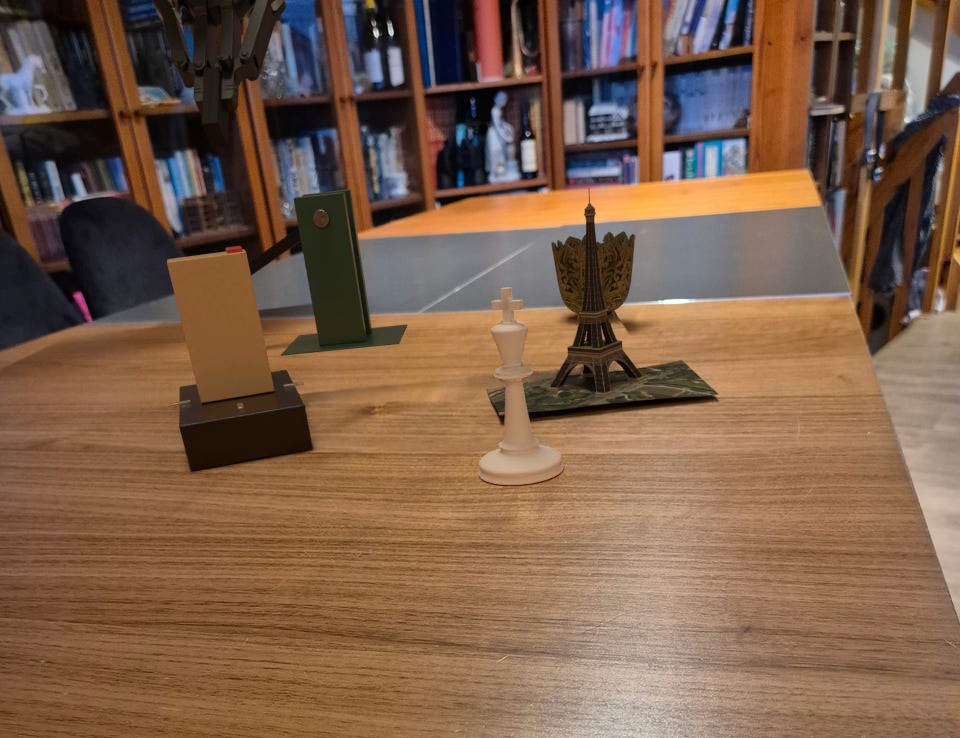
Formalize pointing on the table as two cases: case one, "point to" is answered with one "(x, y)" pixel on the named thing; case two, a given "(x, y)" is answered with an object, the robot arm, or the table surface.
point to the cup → (612, 268)
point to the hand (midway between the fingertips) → (214, 135)
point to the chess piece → (516, 410)
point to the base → (243, 425)
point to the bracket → (336, 277)
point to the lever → (274, 251)
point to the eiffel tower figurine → (602, 359)
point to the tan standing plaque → (221, 324)
